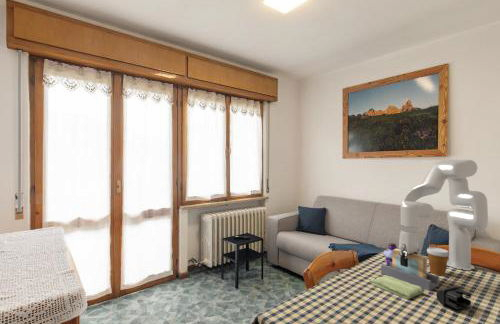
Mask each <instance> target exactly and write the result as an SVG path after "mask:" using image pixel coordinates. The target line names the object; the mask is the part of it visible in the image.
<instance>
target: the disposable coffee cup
mask: <svg viewBox="0 0 500 324" xmlns="http://www.w3.org/2000/svg"><path fill="white" fill-rule="evenodd" d="M426 252H427V260H428V265H429V271H430V274H432V275H435V276H445V275H446V272H447V266H448V265H447V260H449V250H447V249H444V248H440V247H434V246H433V247H432V246H431V247H427V249H426Z"/></svg>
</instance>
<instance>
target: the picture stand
mask: <svg viewBox="0 0 500 324" xmlns="http://www.w3.org/2000/svg"><path fill="white" fill-rule="evenodd" d="M380 274H382V275H385V276H390V277H394V278H396V279H399V280H401V281H405V282H408V283H410V284H412V285H417V286H419V287H421V288H422V289H423V290H426V291H428V292H429V291H431V290H433V289H435V288H437V287H439V286H440V276H439V275H435V274H433V273H428V272H427V279H425V278H422V277H419V276H416V275H413V274H410V273H407V272H404V271H401V270H398V269H395V268H392V262H390V266H388V265H387V264H381V266H380Z"/></svg>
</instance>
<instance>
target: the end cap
mask: <svg viewBox="0 0 500 324" xmlns="http://www.w3.org/2000/svg"><path fill="white" fill-rule="evenodd" d="M435 296H436V300H437V301H438V302H439V303H440V305H441V306H443V307H444V308H445V309H447V310H450V311H451V312H453V313H459V312H463V311H467V310H469V309H471V305H472V304H471V303H472V300H471V299H468V298H465V297H464V296H466V297H469V298H471V297H472V293H471V292H468V291H466V290H464V289H461V286H460V285H454V286H450V287H445V288H440V289H438V290H437V291H436V294H435Z"/></svg>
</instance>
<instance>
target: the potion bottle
mask: <svg viewBox="0 0 500 324" xmlns="http://www.w3.org/2000/svg"><path fill="white" fill-rule="evenodd" d="M387 248H388V249H387V250H384V251H383V254H384V257H385V260H386V266H389V267H390V262H392V253H393V250H394V249H398V246H397V245H396V243H394V242H389V244H388V245H387Z"/></svg>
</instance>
